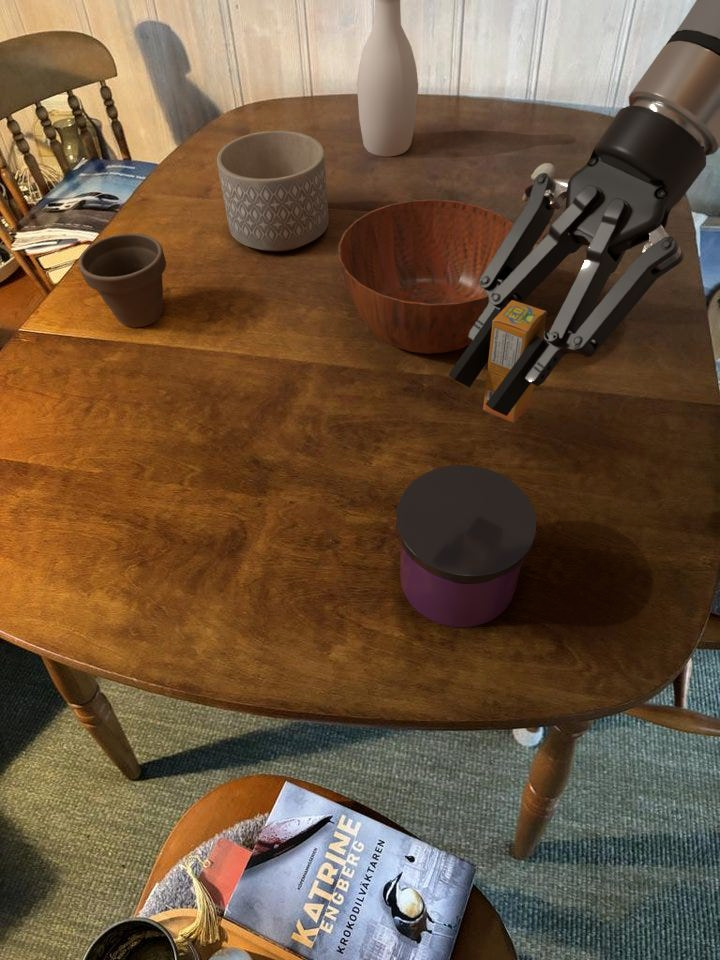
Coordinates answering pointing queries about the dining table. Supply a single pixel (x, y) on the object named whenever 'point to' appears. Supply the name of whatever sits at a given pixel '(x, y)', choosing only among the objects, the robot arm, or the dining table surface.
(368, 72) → the bottle
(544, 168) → the grandmother figurine
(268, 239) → the planter
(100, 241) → the flower pot
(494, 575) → the jar
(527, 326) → the supplement box
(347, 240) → the bowl
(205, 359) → the dining table surface
